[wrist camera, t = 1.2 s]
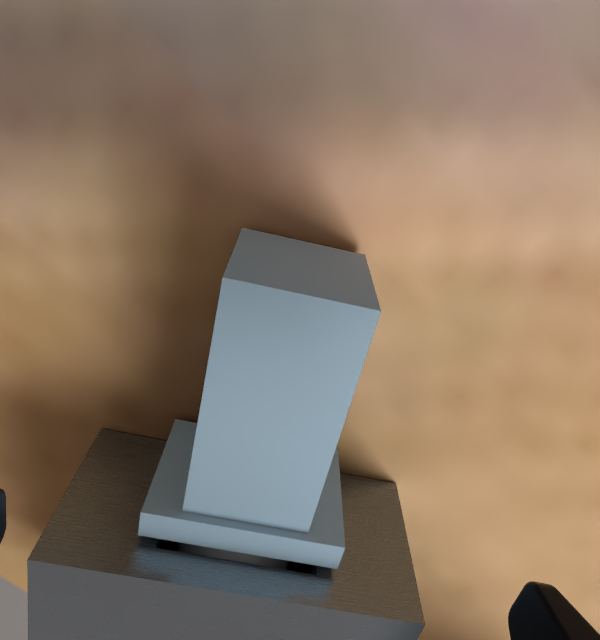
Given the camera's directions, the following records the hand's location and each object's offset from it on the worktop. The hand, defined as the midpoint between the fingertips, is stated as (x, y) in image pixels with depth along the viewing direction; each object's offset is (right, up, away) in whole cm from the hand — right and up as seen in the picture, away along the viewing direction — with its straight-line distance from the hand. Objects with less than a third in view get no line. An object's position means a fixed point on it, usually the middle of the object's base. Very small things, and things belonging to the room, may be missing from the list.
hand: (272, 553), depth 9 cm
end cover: (-1, -1, +11) cm, 12 cm away
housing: (-2, -5, +14) cm, 15 cm away
